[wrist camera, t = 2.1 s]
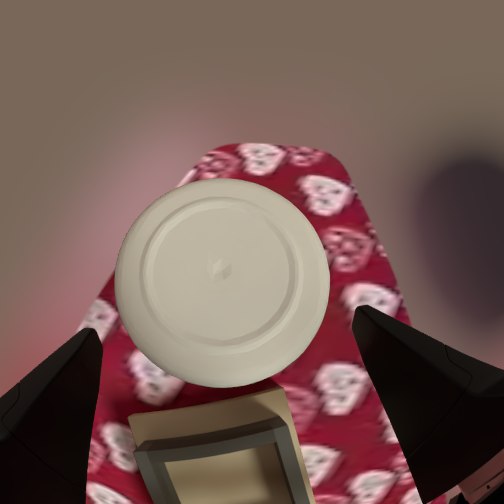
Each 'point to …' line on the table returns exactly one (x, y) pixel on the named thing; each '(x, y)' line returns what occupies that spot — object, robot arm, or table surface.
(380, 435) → the table surface
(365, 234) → the table surface
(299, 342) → the sprinkles bottle
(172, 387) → the table surface
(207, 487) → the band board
